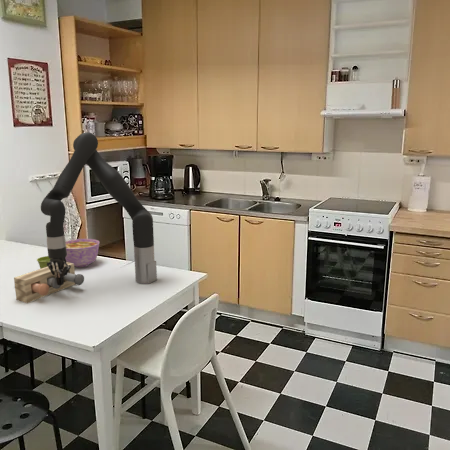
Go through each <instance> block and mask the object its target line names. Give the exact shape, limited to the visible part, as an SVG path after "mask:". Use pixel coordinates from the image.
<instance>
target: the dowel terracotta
mask: <svg viewBox="0 0 450 450" xmlns="http://www.w3.org/2000/svg"><path fill="white" fill-rule="evenodd" d="M31 289H32V291H34V292H38V293H39V294H40V295H46V294H47V293H48V291H49V286H48V285H47V284H44V283H43V284H38V283H32V284H31Z"/></svg>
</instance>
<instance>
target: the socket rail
mask: <svg viewBox="0 0 450 450" xmlns="http://www.w3.org/2000/svg"><path fill="white" fill-rule="evenodd" d="M66 263H67V264H68V265H71V268H70V270H69V272H68V273H71V274H76V272H75V271H76V270H75V267H74V263H69V262H66ZM49 277H52V278H55V277H56V276H55V275H53V274H52V273H51V271H50V269H49V268H48V267H45V268H42V269H40V268H39V269H36V270H33V271H30V272H27V273H24V274H20V275H17V276H15V277H13V280H14V290H15V298H16V301H18V300H19V301H20V302H22V303H26V304H28V303H31V302H34V301H37V300H39V299H41V298H45V297H46V296H49V295H51V294H54V293H56V292H57V293H58V292H59V291H62V290H64V289H66V288H70V287H72V286H75V285H76V284H75V283H74V282H70V281H66V280H64V284H63V285H61V287H60V288H58V289H55V288H53V287H52V286H49V285H48V286H49V291H48V293H47V294H46V295H40V294H39V293H38V292H34V291H32V289H31V284H32V283H38V284H43V283H44V284H47V278H49Z"/></svg>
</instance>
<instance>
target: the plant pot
mask: <svg viewBox="0 0 450 450" xmlns="http://www.w3.org/2000/svg"><path fill="white" fill-rule="evenodd" d="M36 262H37V264H39V269H42V268H45V267H48V266H47V263H49V262H50V258H49V257H48V255H46V256H41V257H40V256H39V257H38V258H36Z"/></svg>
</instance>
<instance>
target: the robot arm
mask: <svg viewBox="0 0 450 450" xmlns="http://www.w3.org/2000/svg"><path fill="white" fill-rule="evenodd" d="M98 145H99V141H98V138H97V136H96V135H95V134H94V133H92V132H82V133H80V134H79V135H78V136H77V137H75V139H74V141H73V143H72V146H73V147H72V148H73V150H74V151H73V154H72V155H71V157H70V159H69V161H68V163H67V164H66V165H65V167H64V168H63V170H62V171H61V173H60V175H59V177H58V178H57V180H56V181H55V183H54V186H53V187H52V188H51V190H49V192H48V193H47V195H46V196H45V197H44V198H43V200H42V201H41V204H40V210H41V213H42V214H43V215H44V216H49V217H50V218H49V222H48V221H47V223H46V225H45V231H46V232H45V233H46V247H47V256H48V257H49V258H50V262H49V263H47V266H48V268H49V269H50V271H51V273H52V274H53V275H55V276H56V278H57V285H60V286H61V285H63V284H64V276H65V275H67V273H68V272H69V270H70V268H71V265H68V264H67V263H66V262H67V261H66V259H65V257H66V256H67V250H66V241H67V240H66V236H65V229H64V224H65V219H66V207H65V204H64V202H63V201H62V200H63V199H67V198H68V197H69V196H70V195H71V193H72V191H73V189H74V187H75V185H76V183H77V181H78V178H79V177H80V174H81V173H82V170H83V168H84V167H85V165H87V166H88V167H89V168H90V170H91V171H92V173H93V174H94V175H95V177H96V178H97V179H98V180H99V182H100V183H101V185H102V186H103V187H104V189H105V190H106V192H107V193H108V194H109V195H110V196H111V197H112V199H113V200H115V201H116V202H117V203H118V204H119V205H120V206H121V207H123V209H124V210H125V211H126V212H127V214H128V215H129V217H130V219H131V220H132V223H131V224H132V225H131V227H132V241H133V254H134V255H133V257H134V259H133V260H134V276H135V283H138V284H151V283H154V282H156V281H157V280H158V273H157V270H158V269H157V260H155V243H154V242H155V241H154V240H155V238H154V237H155V236H154V219H153V215H152V214H151V212H150V211H149V210H147V208H146V207H145V206H144V205H143V204H142V203H141V202H140V201H139V199H138V198H137V196H136V195H135V193H134V192H133V190H132V188H131V187H130V186H129V184H128V182H127V181H126V180H125V178H124V177H123V176H122V175H121V173H120V172H119V171H118V170H117V169H116V168H115V167H113V166H112V165H111V164H109V163H108V162H107V161H106V160H104V158H103V157H102V156H101V153H99V152H98V147H99V146H98Z"/></svg>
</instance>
